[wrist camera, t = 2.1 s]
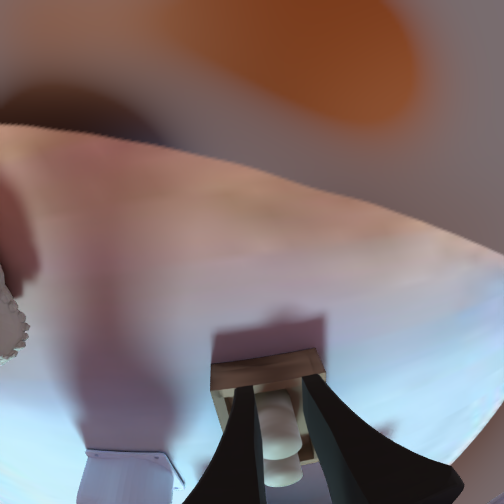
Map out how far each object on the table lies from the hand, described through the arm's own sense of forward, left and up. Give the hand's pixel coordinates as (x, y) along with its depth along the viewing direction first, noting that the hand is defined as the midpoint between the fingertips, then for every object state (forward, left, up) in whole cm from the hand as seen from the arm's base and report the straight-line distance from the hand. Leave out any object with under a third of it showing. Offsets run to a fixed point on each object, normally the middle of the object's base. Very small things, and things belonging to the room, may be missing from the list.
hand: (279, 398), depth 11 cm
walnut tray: (0, -12, -10) cm, 16 cm away
